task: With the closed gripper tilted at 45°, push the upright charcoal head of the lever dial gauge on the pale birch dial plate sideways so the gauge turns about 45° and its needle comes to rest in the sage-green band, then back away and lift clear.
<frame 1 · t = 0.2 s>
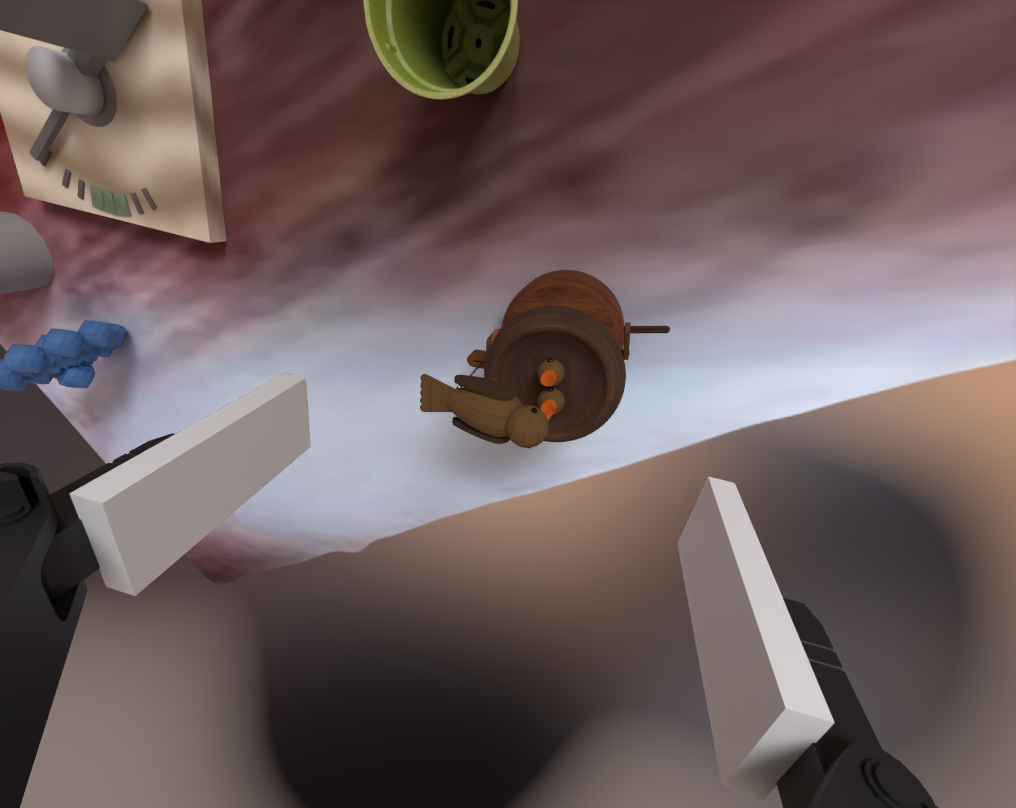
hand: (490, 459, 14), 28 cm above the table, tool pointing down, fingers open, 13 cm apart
dial plate: (110, 92, 41), on the table
lever dial gauge: (15, 66, 34), point 7 cm above the table, hinge at 0.0°
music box: (573, 327, 40), on the table
cup: (24, 250, 51), on the table
plant pot: (481, 48, 33), on the table
grapes: (120, 346, 54), on the table
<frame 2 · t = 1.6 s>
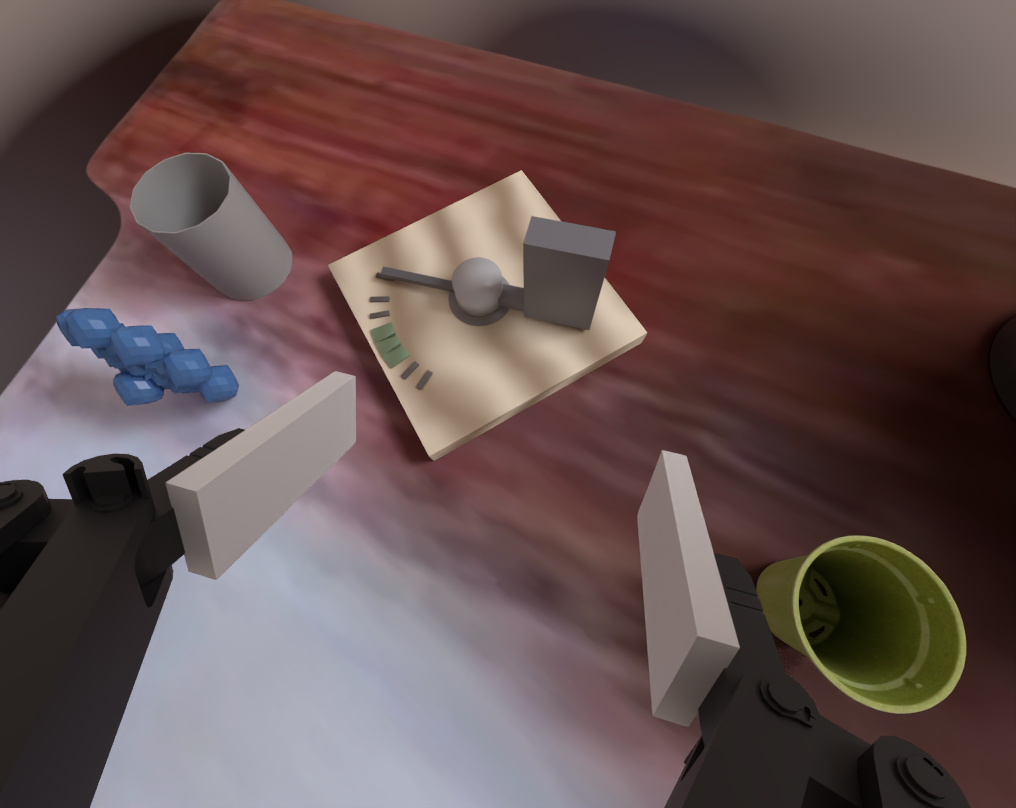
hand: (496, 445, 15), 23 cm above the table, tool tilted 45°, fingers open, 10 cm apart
dial plate: (482, 308, 43), on the table
lever dial gauge: (479, 262, 36), point 7 cm above the table, hinge at 0.0°
cup: (253, 266, 46), on the table
plant pot: (791, 602, 34), on the table
grapes: (203, 393, 42), on the table
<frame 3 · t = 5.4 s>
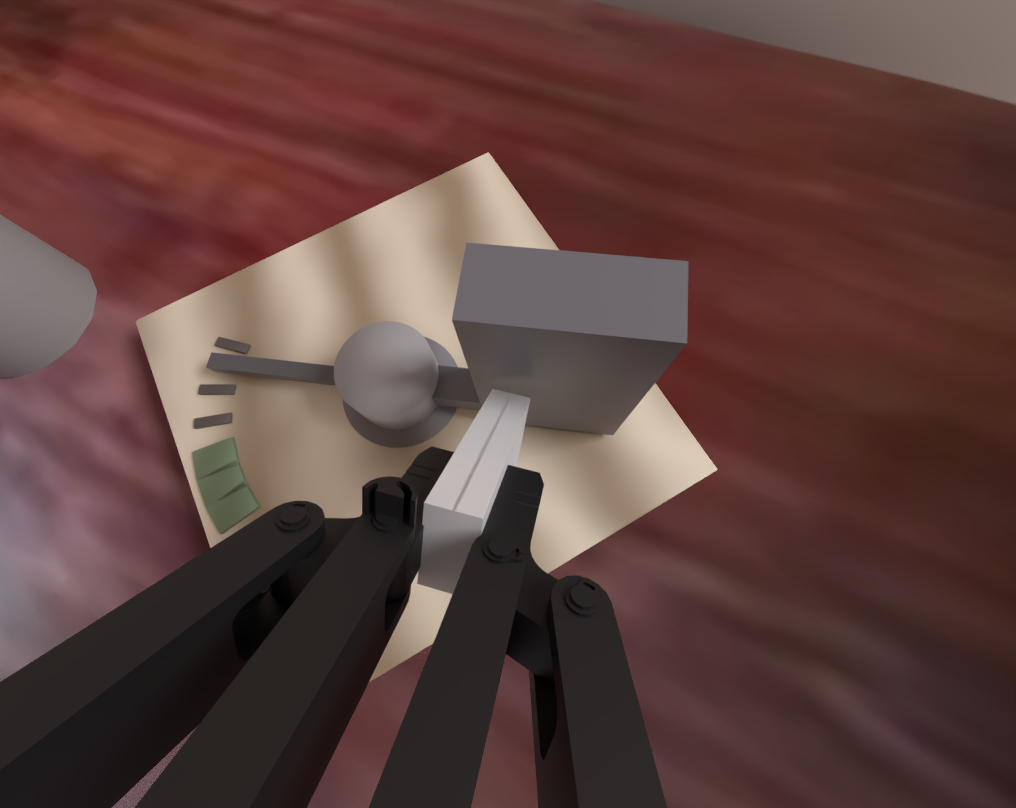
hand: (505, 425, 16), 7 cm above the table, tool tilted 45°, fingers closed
dial plate: (412, 401, 24), on the table
lever dial gauge: (376, 344, 17), point 7 cm above the table, hinge at 8.0°, touching gripper
cup: (31, 315, 27), on the table
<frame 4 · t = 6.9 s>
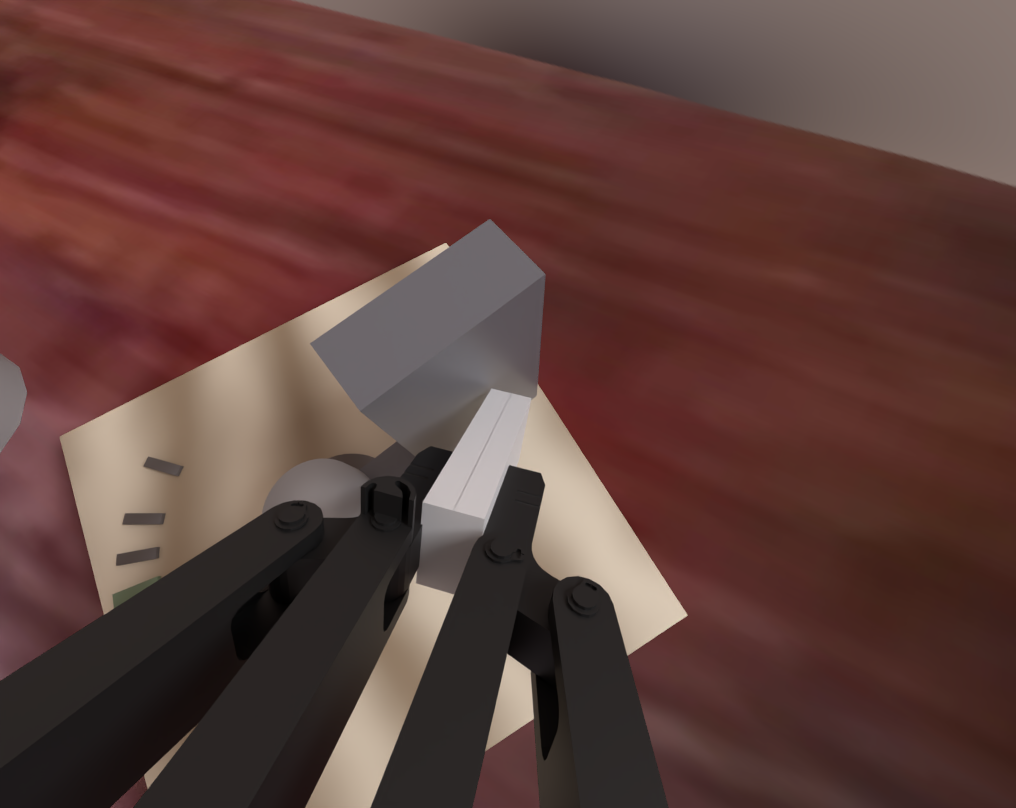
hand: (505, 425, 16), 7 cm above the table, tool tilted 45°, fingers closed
dial plate: (361, 520, 22), on the table
lever dial gauge: (296, 498, 15), point 7 cm above the table, hinge at 54.1°, touching gripper
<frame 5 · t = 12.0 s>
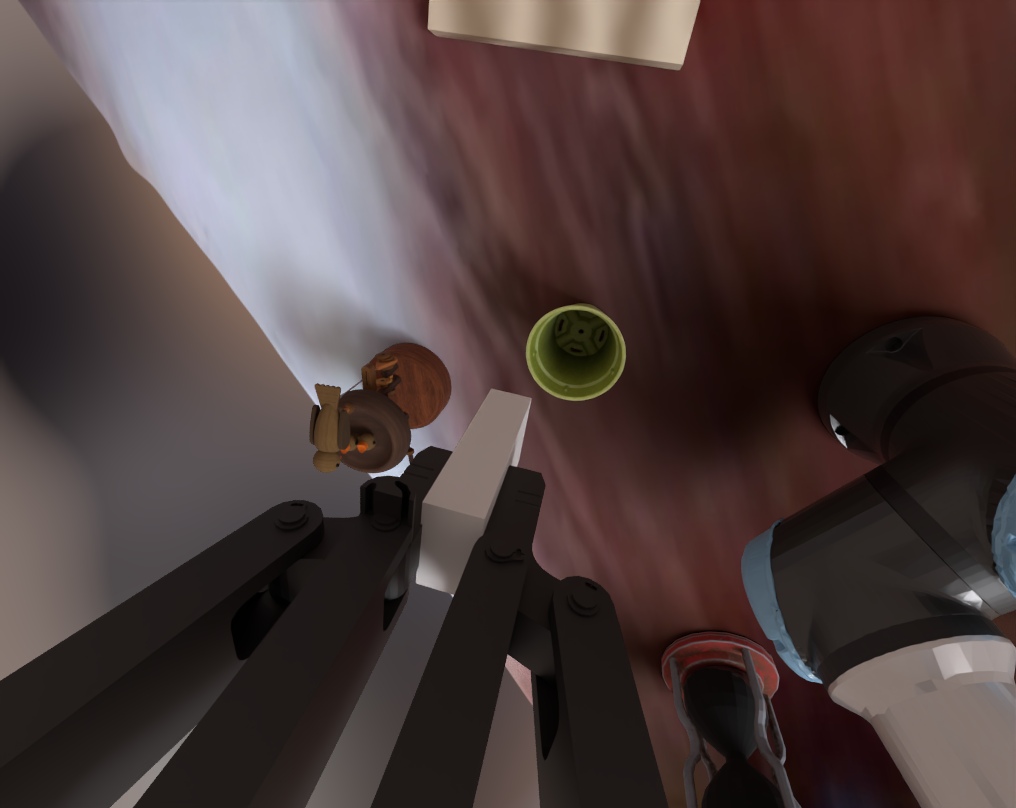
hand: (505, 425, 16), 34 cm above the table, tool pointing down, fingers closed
hourglass: (716, 665, 67), on the table
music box: (415, 386, 57), on the table
plant pot: (580, 329, 49), on the table
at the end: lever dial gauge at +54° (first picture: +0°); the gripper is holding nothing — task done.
